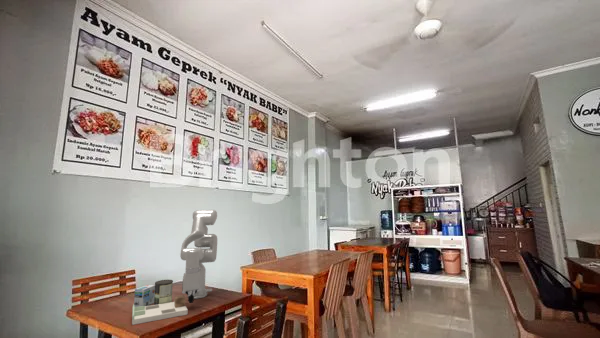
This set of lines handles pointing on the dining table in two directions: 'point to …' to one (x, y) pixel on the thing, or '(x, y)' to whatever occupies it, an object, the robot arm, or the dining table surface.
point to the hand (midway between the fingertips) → (190, 302)
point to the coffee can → (163, 292)
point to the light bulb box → (144, 295)
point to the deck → (156, 312)
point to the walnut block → (179, 301)
